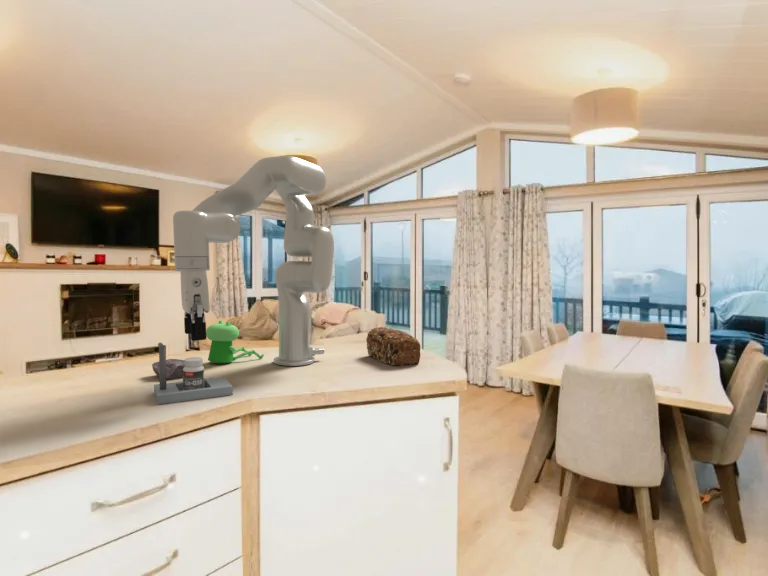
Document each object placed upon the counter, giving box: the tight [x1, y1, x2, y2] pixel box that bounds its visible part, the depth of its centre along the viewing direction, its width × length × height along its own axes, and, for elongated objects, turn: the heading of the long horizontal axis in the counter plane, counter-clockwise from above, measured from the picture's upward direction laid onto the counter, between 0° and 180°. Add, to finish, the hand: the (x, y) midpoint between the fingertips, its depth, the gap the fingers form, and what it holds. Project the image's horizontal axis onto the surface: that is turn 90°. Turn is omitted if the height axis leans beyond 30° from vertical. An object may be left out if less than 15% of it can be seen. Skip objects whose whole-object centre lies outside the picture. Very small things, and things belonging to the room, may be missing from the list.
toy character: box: [206, 319, 265, 365], centre depth 147 cm, size 10×18×13 cm, turn 138°
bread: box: [365, 326, 421, 366], centre depth 152 cm, size 19×11×10 cm, turn 28°
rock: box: [151, 358, 186, 380], centre depth 128 cm, size 8×11×5 cm
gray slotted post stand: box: [153, 342, 234, 405], centre depth 111 cm, size 16×10×12 cm, turn 121°
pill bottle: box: [182, 356, 205, 391], centre depth 111 cm, size 5×5×8 cm
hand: (195, 336), depth 111 cm, fingers open, 9 cm apart
